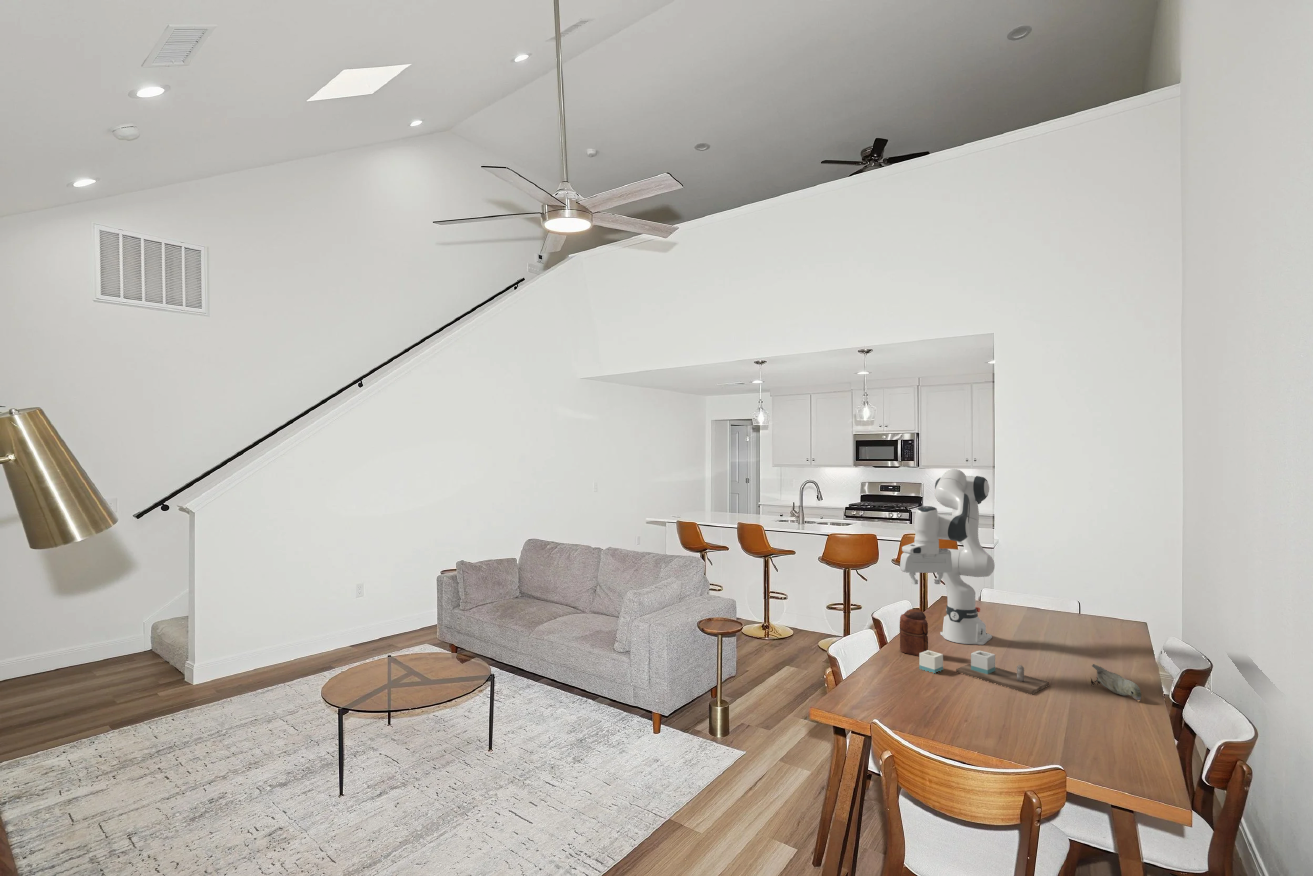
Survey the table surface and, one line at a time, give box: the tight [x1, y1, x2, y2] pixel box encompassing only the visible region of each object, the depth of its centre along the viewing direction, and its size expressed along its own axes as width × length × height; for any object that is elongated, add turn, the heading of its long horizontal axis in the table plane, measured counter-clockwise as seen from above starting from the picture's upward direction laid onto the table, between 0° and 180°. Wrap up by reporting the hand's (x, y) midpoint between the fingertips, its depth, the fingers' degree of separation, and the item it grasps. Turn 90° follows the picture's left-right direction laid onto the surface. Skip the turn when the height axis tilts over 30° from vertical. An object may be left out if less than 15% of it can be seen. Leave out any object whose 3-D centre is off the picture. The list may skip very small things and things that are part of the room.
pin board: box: [955, 655, 1050, 695], centre depth 225 cm, size 14×26×7 cm, turn 37°
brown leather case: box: [899, 608, 929, 657], centre depth 253 cm, size 12×6×18 cm, turn 49°
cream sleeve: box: [918, 649, 944, 674], centre depth 234 cm, size 6×6×6 cm
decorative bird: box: [1090, 663, 1142, 701], centre depth 212 cm, size 5×16×8 cm, turn 16°
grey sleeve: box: [970, 649, 996, 674], centre depth 231 cm, size 6×6×6 cm
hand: (926, 584), depth 242 cm, fingers open, 8 cm apart
